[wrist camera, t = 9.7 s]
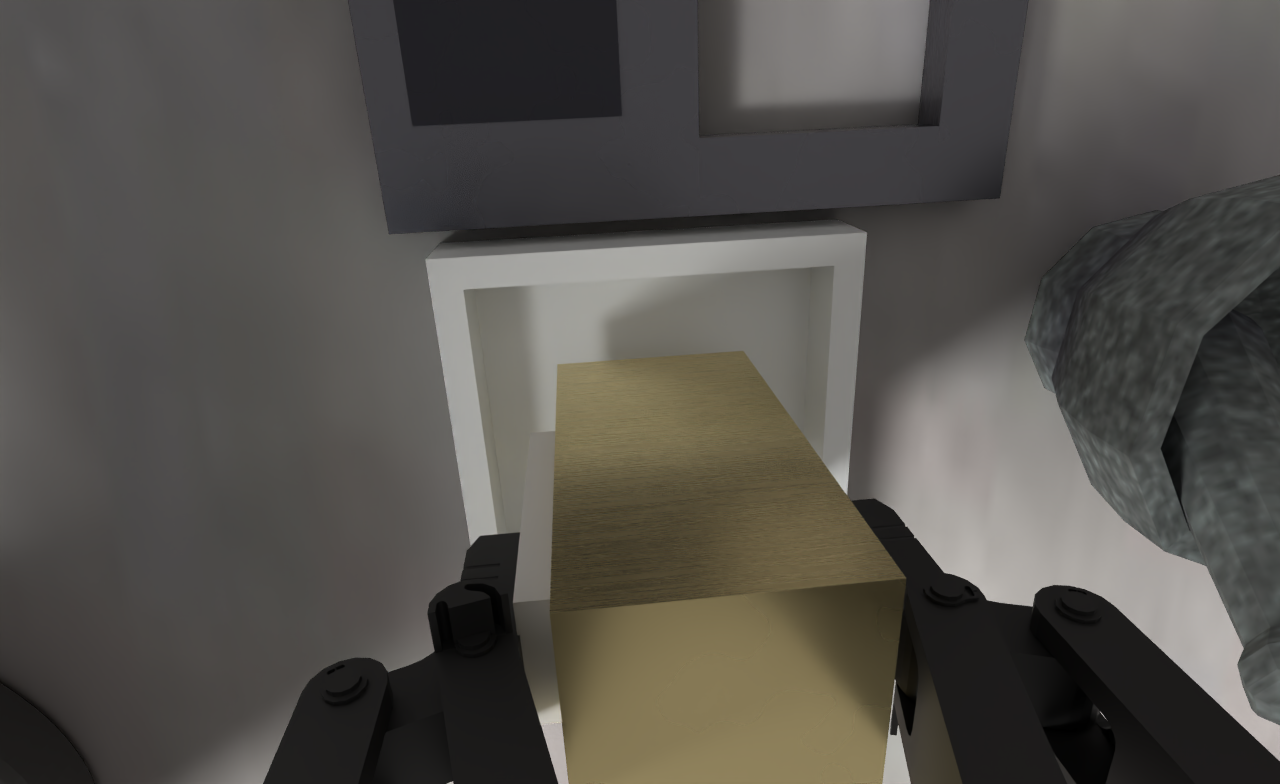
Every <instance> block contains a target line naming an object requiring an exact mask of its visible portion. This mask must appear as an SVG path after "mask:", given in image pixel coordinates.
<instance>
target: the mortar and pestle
mask: <svg viewBox="0 0 1280 784" xmlns="http://www.w3.org/2000/svg"><path fill="white" fill-rule="evenodd" d="M1025 342H1026V345H1027V347H1028V349H1029V352H1030V354H1031V357H1032V359H1033V361H1034V364H1035V366H1036V369H1037V371H1038V373H1039V376H1040V378H1041V381H1042V383H1043V386H1044V388H1046V389H1048V390H1050V391H1052V392H1054V393H1056V397H1057V401H1058V404H1059V407H1060V409H1061V412H1062V414H1063V417H1064V419H1065V421H1066V424H1067V426H1068V429H1069V431H1070V434H1071V436H1072V439H1073V441H1074V443H1075V446H1076V448H1077V451H1078V453H1079V456H1080V458H1081V460H1082V463H1083V465H1084V468H1085V470H1086V473H1087V475H1088V478H1089V480H1090V482H1091V485H1092V486H1093V487H1094V488H1095V489H1096V490H1097V491H1098V492H1099V493H1100V495H1101V496H1102V497H1103V498H1104V499H1105V500H1106V501H1107V502H1108V503H1109V505H1110V506H1111V507H1112V508H1113V509H1114V510H1115V511H1116V512H1117V513H1118V514H1119V516H1120V517H1121V518H1122V519H1123V520H1124V521H1125V522H1126V523H1128V524H1129V525H1130V526H1132V527H1133V528H1134V529H1136V530H1137V531H1138V532H1140V533H1141V534H1142V535H1144V536H1145V537H1146V538H1148V539H1149V540H1150V541H1152V542H1153V543H1154V544H1156V545H1157V546H1158V547H1160V548H1161V549H1162V550H1164V551H1165V552H1168V553H1171V554H1174V555H1177V556H1180V557H1182V558H1185V559H1188V560H1191V561H1194V562H1197V563H1200V564H1202V565H1205V566H1207V568H1208V571H1209V573H1210V575H1211V577H1212V579H1213V582H1214V584H1215V586H1216V588H1217V590H1218V593H1219V595H1220V597H1221V599H1222V601H1223V604H1224V606H1225V608H1226V610H1227V612H1228V615H1229V617H1230V619H1231V621H1232V623H1233V626H1234V628H1235V630H1236V632H1237V634H1238V636H1239V639H1240V641H1241V643H1242V645H1243V647H1244V650H1243V652H1242V654H1241V657H1240V659H1239V662H1238V664H1237V665H1238V669H1239V673H1240V677H1241V681H1242V685H1243V688H1244V690H1245V693H1246V696H1247V698H1248V701H1249V703H1250V706H1251V709H1252V710H1253V711H1254V712H1255V713H1256V714H1257V715H1258V716H1260V717H1262V718H1264V719H1267V720H1269V721H1271V722H1274V723H1276V724H1278V725H1280V175H1278V176H1275V177H1271V178H1267V179H1263V180H1260V181H1256V182H1252V183H1248V184H1245V185H1241V186H1237V187H1233V188H1230V189H1226V190H1222V191H1218V192H1215V193H1211V194H1207V195H1203V196H1200V197H1196V198H1192V199H1189V200H1187V201H1185V202H1183V203H1181V204H1178V205H1176V206H1174V207H1172V208H1170V209H1168V210H1165V211H1163V212H1162V211H1158V210H1156V211H1152V212H1149V213H1145V214H1141V215H1137V216H1134V217H1130V218H1126V219H1122V220H1119V221H1115V222H1111V223H1107V224H1104V225H1100V226H1096V227H1093V228H1092V229H1091V230H1090V231H1089V232H1088V233H1087V234H1086V235H1085V236H1084V237H1083V238H1082V239H1081V240H1080V241H1079V242H1078V243H1077V244H1076V245H1075V246H1074V247H1073V248H1072V249H1071V250H1070V251H1069V252H1068V253H1067V254H1066V255H1065V256H1064V257H1063V258H1062V259H1061V260H1060V261H1059V262H1058V263H1057V264H1056V265H1055V266H1054V267H1053V268H1052V269H1051V270H1050V271H1049V272H1048V273H1047V274H1046V275H1045V276H1044V277H1043V278H1042V280H1041V283H1040V287H1039V290H1038V294H1037V297H1036V301H1035V304H1034V308H1033V312H1032V315H1031V319H1030V322H1029V326H1028V329H1027V333H1026V336H1025Z"/></svg>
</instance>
